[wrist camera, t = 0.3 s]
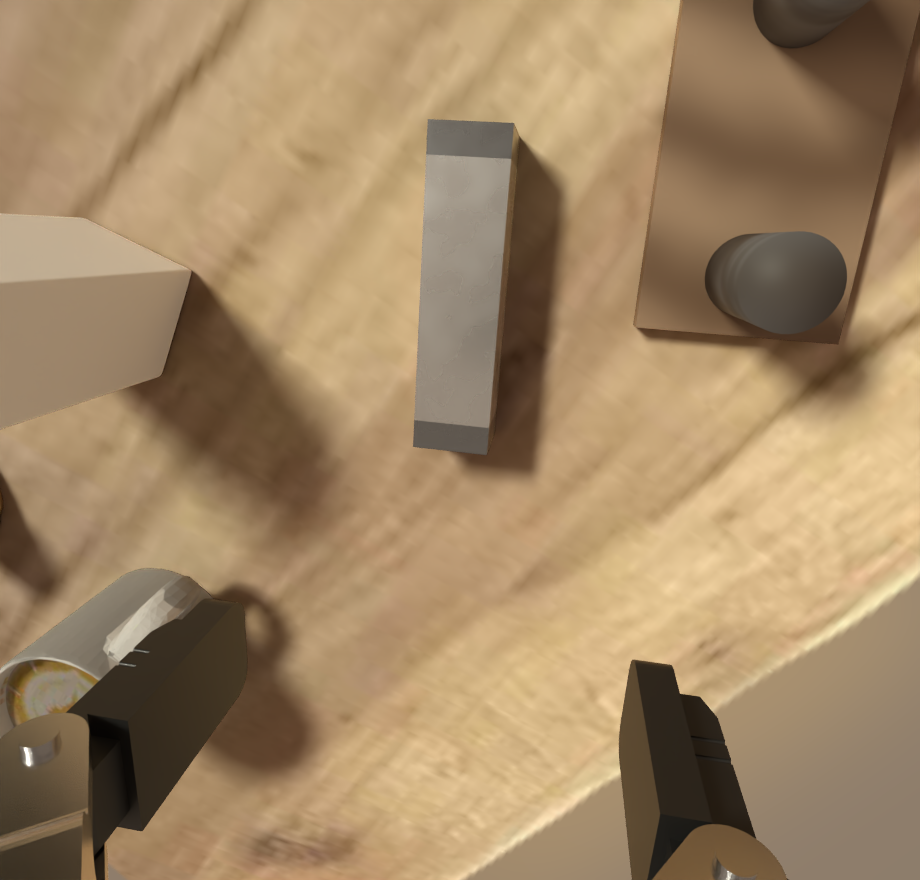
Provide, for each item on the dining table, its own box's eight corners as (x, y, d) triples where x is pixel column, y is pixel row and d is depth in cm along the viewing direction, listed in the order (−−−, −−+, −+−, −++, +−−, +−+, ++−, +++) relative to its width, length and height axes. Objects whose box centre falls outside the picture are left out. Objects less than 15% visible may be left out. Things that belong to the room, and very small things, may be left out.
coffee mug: (173, 711, 48) (76, 826, 38) (76, 616, 47) (-47, 711, 37) (292, 620, 44) (217, 724, 34) (190, 513, 43) (83, 590, 33)
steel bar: (443, 133, 33) (428, 119, 30) (519, 137, 33) (514, 123, 29) (428, 426, 38) (413, 446, 34) (494, 433, 38) (486, 455, 34)
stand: (691, -72, 29) (735, -182, 22) (927, -71, 28) (1062, -187, 20) (633, 324, 35) (652, 347, 27) (828, 340, 33) (906, 369, 26)
